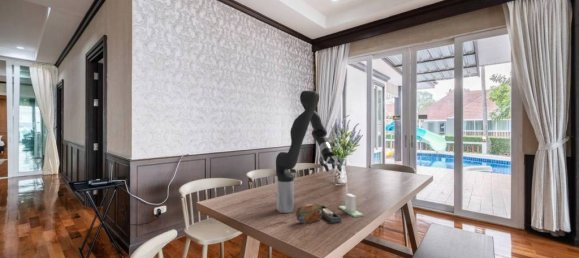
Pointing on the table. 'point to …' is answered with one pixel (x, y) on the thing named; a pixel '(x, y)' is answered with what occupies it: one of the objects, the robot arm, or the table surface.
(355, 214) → the board
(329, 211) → the offcut stack
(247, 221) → the table surface
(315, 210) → the tin
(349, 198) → the white rectangular block
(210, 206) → the table surface
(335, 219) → the frame
